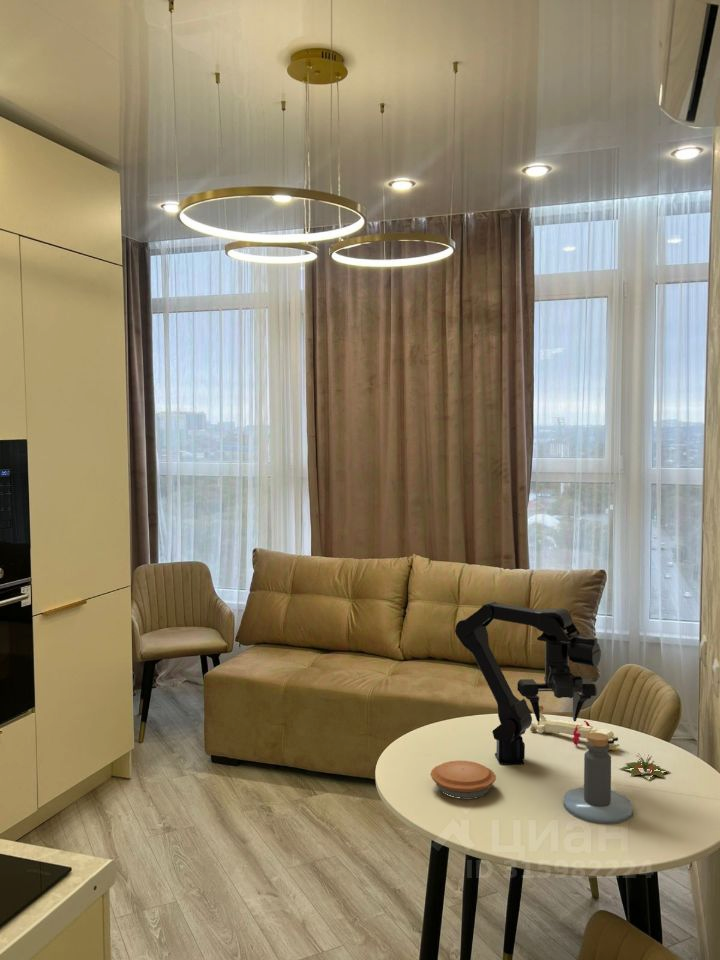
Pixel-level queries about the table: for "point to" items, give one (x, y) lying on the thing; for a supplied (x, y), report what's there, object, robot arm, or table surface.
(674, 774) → the table surface
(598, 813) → the dish
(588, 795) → the bottle
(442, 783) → the pie
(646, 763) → the lily flower
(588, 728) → the cat figure
